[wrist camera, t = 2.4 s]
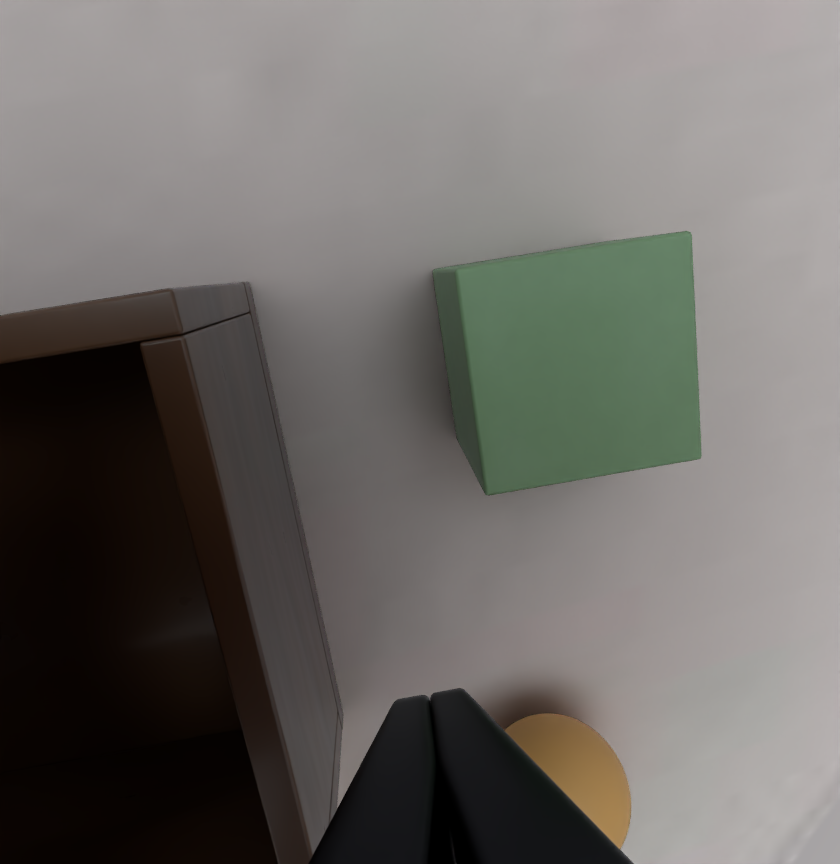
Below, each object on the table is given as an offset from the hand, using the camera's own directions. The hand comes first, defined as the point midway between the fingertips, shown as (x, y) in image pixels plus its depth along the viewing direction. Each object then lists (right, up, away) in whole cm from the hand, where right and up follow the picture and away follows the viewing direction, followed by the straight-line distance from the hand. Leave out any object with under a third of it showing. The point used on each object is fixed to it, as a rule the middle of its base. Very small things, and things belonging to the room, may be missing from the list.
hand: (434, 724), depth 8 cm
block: (+3, +6, +9) cm, 11 cm away
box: (-8, 0, +9) cm, 12 cm away
